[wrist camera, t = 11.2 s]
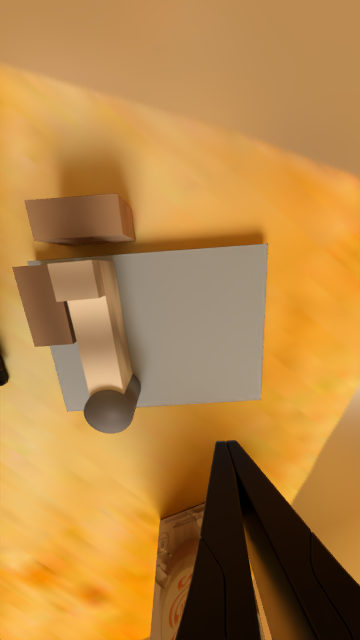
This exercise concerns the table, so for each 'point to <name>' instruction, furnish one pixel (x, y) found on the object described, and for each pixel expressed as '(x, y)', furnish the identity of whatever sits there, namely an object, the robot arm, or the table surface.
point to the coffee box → (176, 571)
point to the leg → (99, 340)
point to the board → (184, 326)
